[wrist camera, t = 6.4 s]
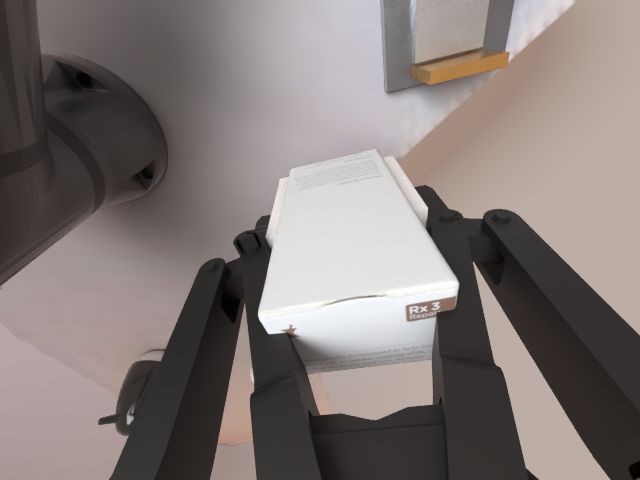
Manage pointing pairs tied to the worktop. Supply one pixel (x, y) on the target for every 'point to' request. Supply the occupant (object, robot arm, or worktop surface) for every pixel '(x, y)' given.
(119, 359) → the worktop surface
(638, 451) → the robot arm
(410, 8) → the motor
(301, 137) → the worktop surface
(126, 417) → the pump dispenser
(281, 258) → the skincare box
